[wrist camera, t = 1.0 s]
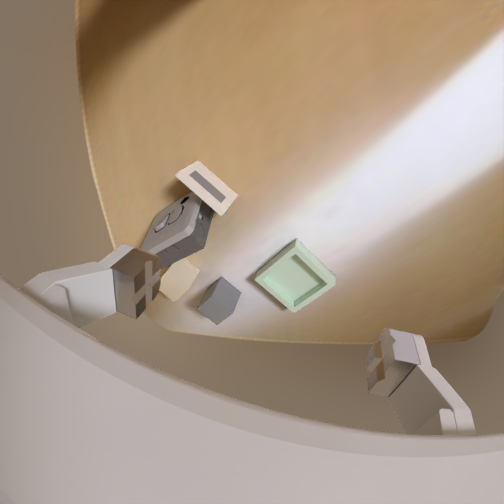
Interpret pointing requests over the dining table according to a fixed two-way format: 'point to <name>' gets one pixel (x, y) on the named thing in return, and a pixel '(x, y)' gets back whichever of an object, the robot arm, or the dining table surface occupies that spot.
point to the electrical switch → (179, 229)
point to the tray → (295, 276)
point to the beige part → (178, 279)
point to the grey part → (219, 301)
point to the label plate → (207, 187)
